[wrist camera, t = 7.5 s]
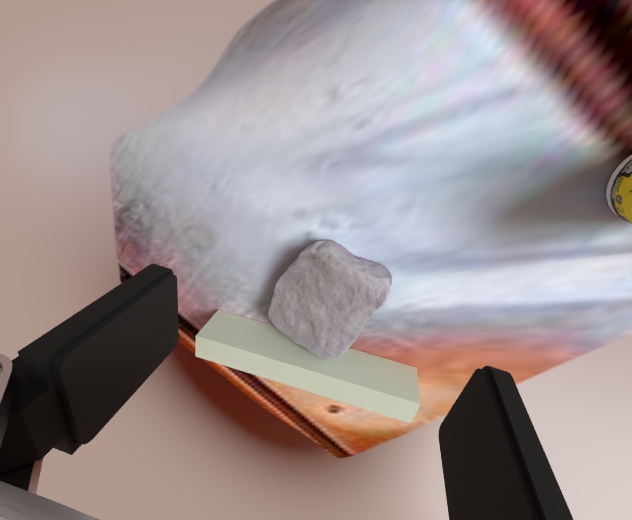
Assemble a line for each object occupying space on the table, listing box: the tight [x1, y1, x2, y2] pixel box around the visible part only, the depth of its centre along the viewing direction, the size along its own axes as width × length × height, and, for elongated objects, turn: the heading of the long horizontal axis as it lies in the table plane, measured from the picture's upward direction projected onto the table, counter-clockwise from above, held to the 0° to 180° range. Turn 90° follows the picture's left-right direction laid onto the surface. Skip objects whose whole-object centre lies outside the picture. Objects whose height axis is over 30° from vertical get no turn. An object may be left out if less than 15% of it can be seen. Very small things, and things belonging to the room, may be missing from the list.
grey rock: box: [268, 240, 392, 360], centre depth 32 cm, size 12×5×10 cm
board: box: [196, 310, 420, 424], centre depth 35 cm, size 3×24×5 cm, turn 79°
